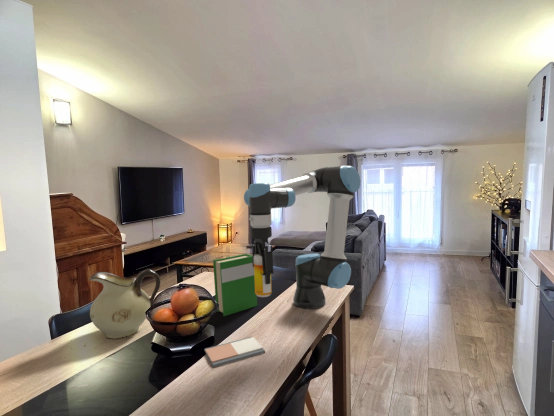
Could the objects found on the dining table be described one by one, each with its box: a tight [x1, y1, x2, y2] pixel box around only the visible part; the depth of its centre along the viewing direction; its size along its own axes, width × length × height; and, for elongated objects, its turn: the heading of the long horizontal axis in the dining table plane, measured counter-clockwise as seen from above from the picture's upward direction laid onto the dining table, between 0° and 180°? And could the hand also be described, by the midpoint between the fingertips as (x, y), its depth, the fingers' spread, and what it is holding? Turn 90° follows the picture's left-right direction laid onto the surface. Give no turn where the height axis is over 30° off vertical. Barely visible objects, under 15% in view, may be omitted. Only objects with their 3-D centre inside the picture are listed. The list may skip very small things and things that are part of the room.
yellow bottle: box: [254, 254, 273, 298], centre depth 123 cm, size 6×6×15 cm
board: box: [204, 336, 266, 368], centre depth 119 cm, size 18×12×1 cm, turn 115°
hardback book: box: [212, 253, 258, 317], centre depth 158 cm, size 18×7×24 cm, turn 127°
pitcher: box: [89, 268, 161, 339], centre depth 139 cm, size 22×24×25 cm
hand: (263, 289), depth 124 cm, fingers closed on yellow bottle, 6 cm apart
